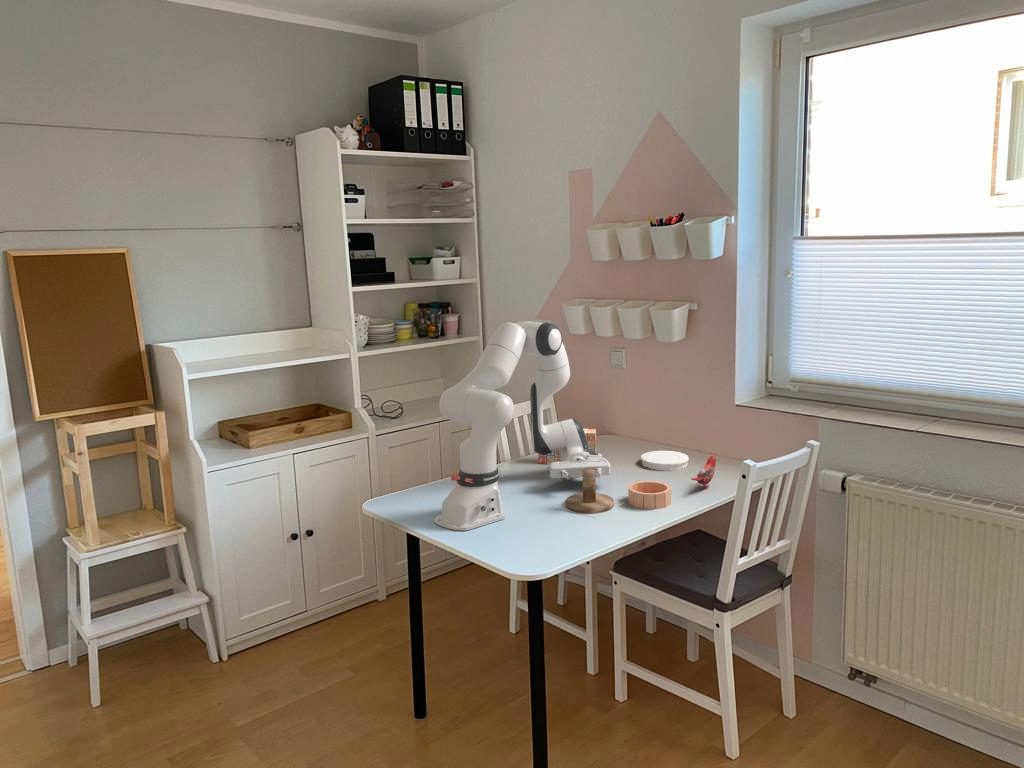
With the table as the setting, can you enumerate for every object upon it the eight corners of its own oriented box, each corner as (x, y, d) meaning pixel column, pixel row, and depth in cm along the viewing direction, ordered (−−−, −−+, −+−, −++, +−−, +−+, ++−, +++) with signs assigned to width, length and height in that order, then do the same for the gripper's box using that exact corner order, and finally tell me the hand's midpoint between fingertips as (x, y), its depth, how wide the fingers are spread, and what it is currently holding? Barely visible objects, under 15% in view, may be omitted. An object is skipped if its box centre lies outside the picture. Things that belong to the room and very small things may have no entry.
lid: (690, 457, 292) (690, 449, 291) (687, 473, 273) (687, 464, 272) (644, 455, 296) (644, 447, 296) (638, 470, 277) (638, 462, 277)
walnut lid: (595, 517, 231) (595, 480, 229) (555, 507, 241) (554, 471, 239) (622, 503, 242) (622, 467, 240) (583, 494, 252) (583, 460, 250)
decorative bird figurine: (719, 483, 259) (719, 454, 257) (695, 498, 246) (695, 468, 244) (711, 482, 261) (711, 453, 259) (686, 496, 247) (686, 466, 246)
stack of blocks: (538, 464, 289) (537, 432, 286) (540, 459, 295) (539, 428, 292) (595, 465, 285) (595, 432, 283) (596, 460, 291) (596, 428, 289)
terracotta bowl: (657, 512, 234) (657, 497, 233) (620, 504, 242) (620, 489, 241) (678, 501, 244) (678, 485, 243) (642, 493, 252) (642, 478, 251)
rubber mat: (596, 519, 231) (596, 518, 231) (553, 508, 241) (553, 507, 241) (625, 504, 242) (625, 503, 242) (583, 494, 253) (583, 493, 253)
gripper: (545, 456, 262) (551, 468, 248) (605, 453, 263) (614, 464, 250) (546, 474, 263) (551, 487, 250) (605, 471, 265) (614, 483, 251)
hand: (583, 476), depth 250 cm, fingers open, 8 cm apart
